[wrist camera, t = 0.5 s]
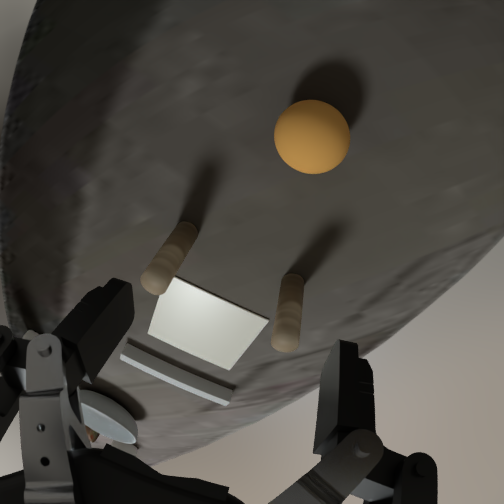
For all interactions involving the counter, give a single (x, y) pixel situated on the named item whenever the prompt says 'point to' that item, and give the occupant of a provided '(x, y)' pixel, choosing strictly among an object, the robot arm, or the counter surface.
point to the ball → (312, 136)
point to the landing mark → (204, 324)
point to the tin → (91, 434)
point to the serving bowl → (108, 417)
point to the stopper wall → (176, 375)
